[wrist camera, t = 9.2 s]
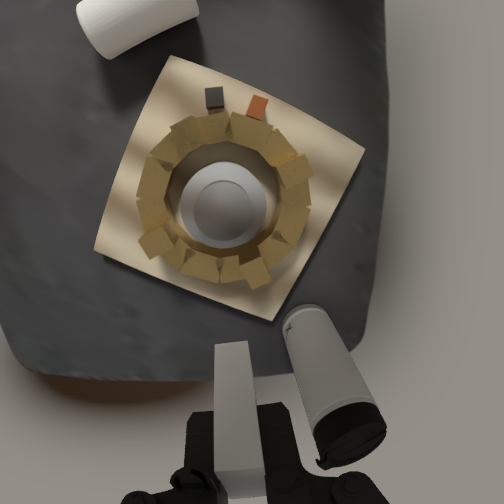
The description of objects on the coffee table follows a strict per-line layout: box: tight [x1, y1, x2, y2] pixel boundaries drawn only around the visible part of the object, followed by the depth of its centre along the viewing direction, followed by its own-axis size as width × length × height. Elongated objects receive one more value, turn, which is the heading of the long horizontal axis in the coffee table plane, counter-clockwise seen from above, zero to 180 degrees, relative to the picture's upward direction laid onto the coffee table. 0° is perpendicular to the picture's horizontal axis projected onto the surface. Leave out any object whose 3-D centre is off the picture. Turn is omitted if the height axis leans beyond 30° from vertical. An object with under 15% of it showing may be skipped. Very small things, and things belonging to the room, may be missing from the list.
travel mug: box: [281, 304, 387, 470], centre depth 28 cm, size 6×7×20 cm
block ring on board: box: [94, 55, 365, 321], centre depth 26 cm, size 22×22×10 cm
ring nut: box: [136, 95, 315, 290], centre depth 26 cm, size 16×18×5 cm
